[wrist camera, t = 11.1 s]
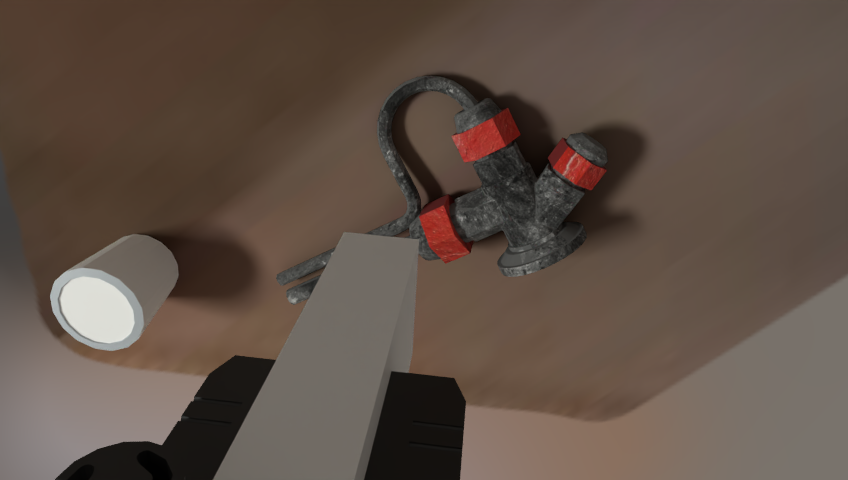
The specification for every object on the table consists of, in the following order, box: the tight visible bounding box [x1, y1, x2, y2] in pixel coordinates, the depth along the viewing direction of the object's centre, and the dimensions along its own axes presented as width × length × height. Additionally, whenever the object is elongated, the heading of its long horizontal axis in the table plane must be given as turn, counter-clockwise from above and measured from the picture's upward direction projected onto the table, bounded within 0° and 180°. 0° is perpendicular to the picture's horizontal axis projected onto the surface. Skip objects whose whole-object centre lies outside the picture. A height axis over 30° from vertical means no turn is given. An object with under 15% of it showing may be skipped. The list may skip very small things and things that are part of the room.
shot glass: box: [50, 234, 179, 351], centre depth 49 cm, size 7×7×7 cm
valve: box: [276, 76, 608, 305], centre depth 46 cm, size 6×26×15 cm
